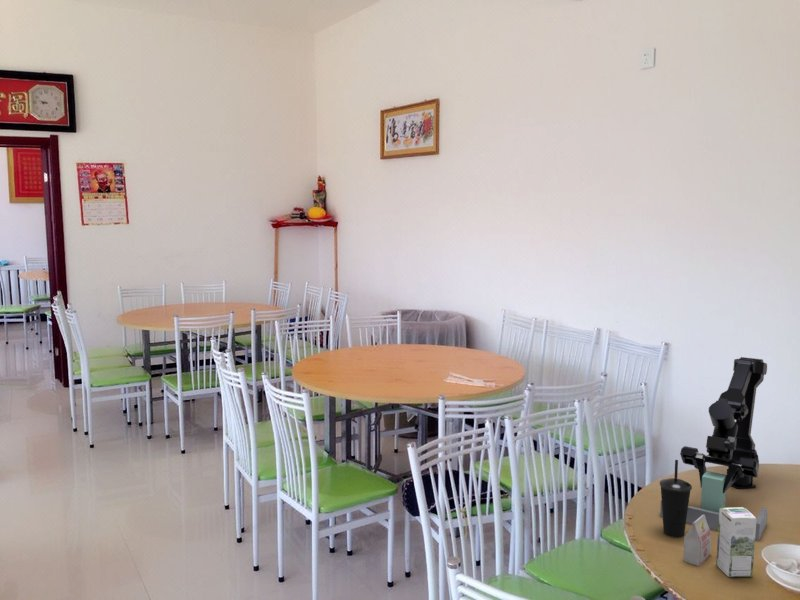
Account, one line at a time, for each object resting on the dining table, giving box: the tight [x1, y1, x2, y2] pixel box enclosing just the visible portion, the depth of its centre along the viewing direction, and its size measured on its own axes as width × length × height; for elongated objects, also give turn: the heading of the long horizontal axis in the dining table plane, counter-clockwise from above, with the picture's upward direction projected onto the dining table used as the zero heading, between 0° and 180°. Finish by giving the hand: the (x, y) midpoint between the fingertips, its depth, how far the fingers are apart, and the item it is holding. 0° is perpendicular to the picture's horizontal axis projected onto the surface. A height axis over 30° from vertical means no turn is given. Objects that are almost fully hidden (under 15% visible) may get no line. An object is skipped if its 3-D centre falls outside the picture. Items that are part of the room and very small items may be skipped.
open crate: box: [659, 499, 768, 542], centre depth 180 cm, size 12×24×5 cm, turn 53°
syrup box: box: [715, 506, 757, 578], centre depth 154 cm, size 6×6×14 cm
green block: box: [700, 470, 727, 513], centre depth 179 cm, size 5×5×10 cm
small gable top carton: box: [683, 515, 712, 567], centre depth 161 cm, size 4×7×10 cm, turn 136°
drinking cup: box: [659, 459, 693, 539], centre depth 172 cm, size 8×8×20 cm
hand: (712, 489), depth 178 cm, fingers closed on green block, 5 cm apart
